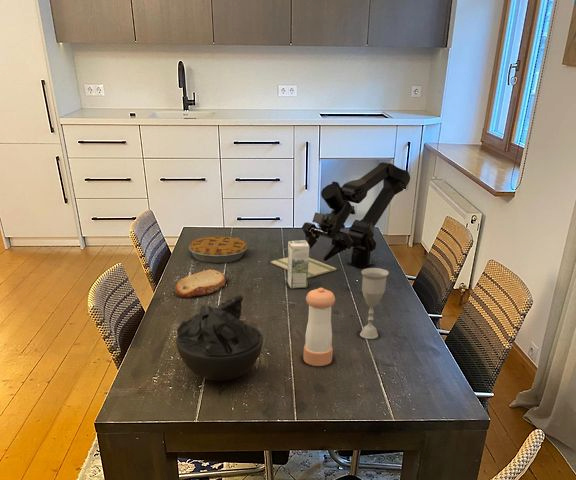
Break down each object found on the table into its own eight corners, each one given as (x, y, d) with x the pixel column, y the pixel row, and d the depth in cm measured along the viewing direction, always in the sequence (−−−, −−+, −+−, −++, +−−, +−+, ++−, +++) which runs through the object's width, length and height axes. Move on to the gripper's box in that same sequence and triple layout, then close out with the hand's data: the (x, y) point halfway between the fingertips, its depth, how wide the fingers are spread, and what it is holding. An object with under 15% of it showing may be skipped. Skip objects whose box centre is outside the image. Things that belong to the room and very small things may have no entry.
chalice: (364, 342, 158) (370, 278, 149) (351, 332, 163) (356, 270, 154) (387, 337, 161) (394, 274, 152) (372, 327, 166) (379, 266, 157)
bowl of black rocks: (192, 404, 129) (186, 326, 120) (170, 364, 145) (163, 293, 135) (275, 387, 136) (276, 312, 127) (246, 351, 152) (245, 282, 142)
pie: (245, 265, 210) (245, 251, 208) (184, 263, 210) (183, 250, 208) (249, 246, 229) (249, 234, 227) (193, 245, 229) (193, 232, 227)
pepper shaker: (299, 363, 147) (301, 291, 137) (308, 350, 153) (311, 281, 143) (327, 368, 145) (331, 295, 135) (335, 355, 151) (340, 285, 141)
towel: (299, 255, 221) (300, 253, 220) (336, 269, 207) (336, 268, 207) (270, 262, 213) (270, 261, 212) (307, 278, 200) (307, 276, 199)
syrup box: (303, 281, 196) (305, 239, 189) (307, 288, 191) (309, 244, 184) (287, 282, 195) (288, 240, 188) (290, 289, 190) (291, 245, 183)
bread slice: (221, 274, 201) (221, 264, 199) (234, 293, 186) (234, 282, 184) (169, 279, 196) (168, 269, 194) (178, 299, 181) (177, 288, 179)
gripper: (306, 197, 193) (282, 237, 192) (349, 208, 182) (324, 250, 181) (321, 217, 202) (298, 255, 201) (363, 228, 191) (339, 268, 190)
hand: (314, 256), depth 193 cm, fingers open, 9 cm apart
